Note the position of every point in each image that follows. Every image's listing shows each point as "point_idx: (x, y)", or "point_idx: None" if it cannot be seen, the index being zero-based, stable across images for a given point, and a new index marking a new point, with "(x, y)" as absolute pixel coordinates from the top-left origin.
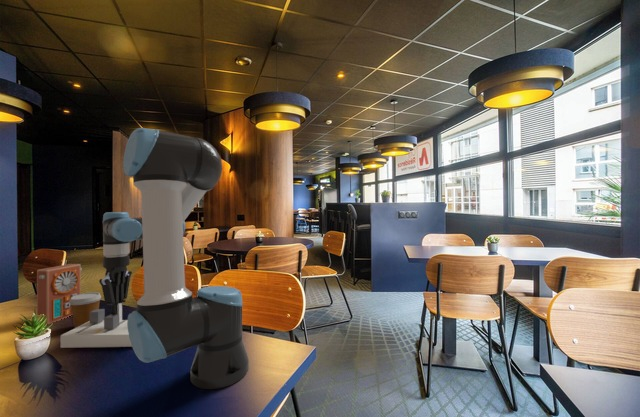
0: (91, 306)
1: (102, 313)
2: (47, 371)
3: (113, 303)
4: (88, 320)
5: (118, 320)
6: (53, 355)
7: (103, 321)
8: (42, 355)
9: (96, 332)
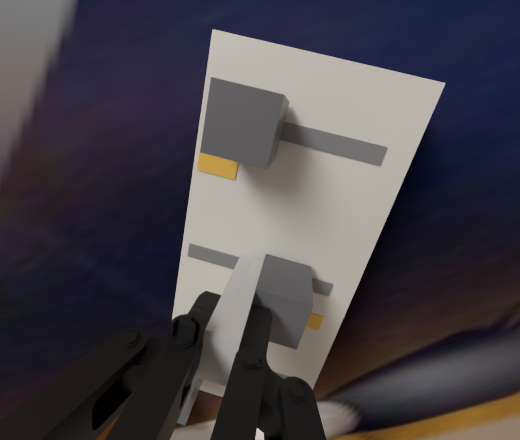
0: (105, 435)
1: None
2: (482, 355)
3: (305, 389)
4: None
5: (268, 270)
6: (355, 377)
7: None
8: (341, 401)
9: (317, 321)
